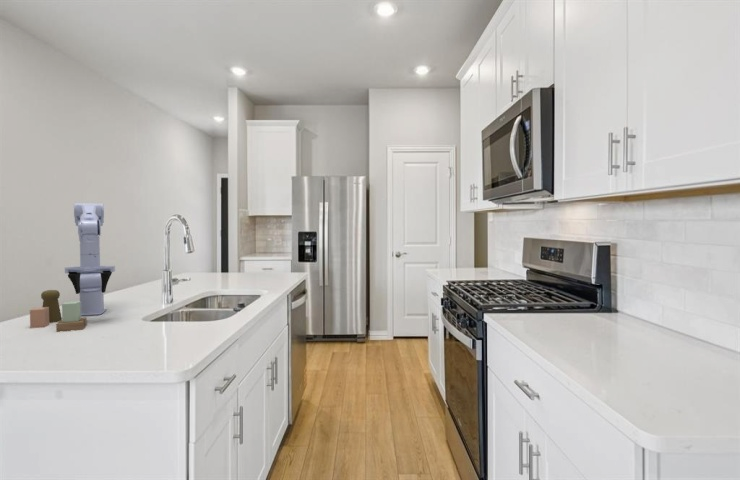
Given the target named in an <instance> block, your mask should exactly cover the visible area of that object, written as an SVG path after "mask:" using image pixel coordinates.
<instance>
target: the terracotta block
mask: <svg viewBox="0 0 740 480" xmlns="http://www.w3.org/2000/svg"><path fill="white" fill-rule="evenodd" d="M29 324H30V325H29V328H30V329H36V328H37V329H38V328H46V327H48V326H49V325H50V323H49V307H43V306H41V307H34V308H31V309H30V310H29Z"/></svg>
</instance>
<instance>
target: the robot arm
mask: <svg viewBox="0 0 740 480" xmlns="http://www.w3.org/2000/svg"><path fill="white" fill-rule="evenodd" d="M73 217H74V223H75V226H76V227H77V235H78V240H79V258H80V259H79V261H80V262H79V265H80V266H66V267H64V274H67V277H68V279H69V281H70V282H71V283H72V286H73V287H74V291H75V294H78V295H79V301H81V317H83V316H97V315H98V316H99V315H102V314H103V313H105V312H106V311H107V310H108V309H107V308H104V307H105V304H104V303H105V302H104V298H105V296H104V295H105V294H104V293H106V290H107V285H108V282H109V280H110V277H111V276H112V274H113V273H114V272H116V266H115V265H101V254H100V253H101V252H100V250H101V247H100V241H101V240H100V237H101V234H102V232H101V231H102V230H101V229H102V228H101V227H102V226H103V224H104V221H105V220H104V218H105V207H104V204H103V203H102V202H101V203H96V202H95V203H89V202H86V203H84V202H75V203H73Z"/></svg>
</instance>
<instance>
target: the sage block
mask: <svg viewBox="0 0 740 480" xmlns="http://www.w3.org/2000/svg"><path fill="white" fill-rule="evenodd" d="M61 318H62V322H77V321H78V320H80V319H81V318H82V316H81V301H80V300H78V301H65V302H63V303H62V304H61Z"/></svg>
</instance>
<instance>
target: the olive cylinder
mask: <svg viewBox="0 0 740 480" xmlns="http://www.w3.org/2000/svg"><path fill="white" fill-rule="evenodd" d="M60 294H61V293H60V292H59V290H58V289H57V290H56V289H49V290H44V291H42V292H41V295H40V297H41V300H42V307H49V324H52V323H58V322H59V321H60V320H61V319H62V312H61V307H60V303H59V298H60Z"/></svg>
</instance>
